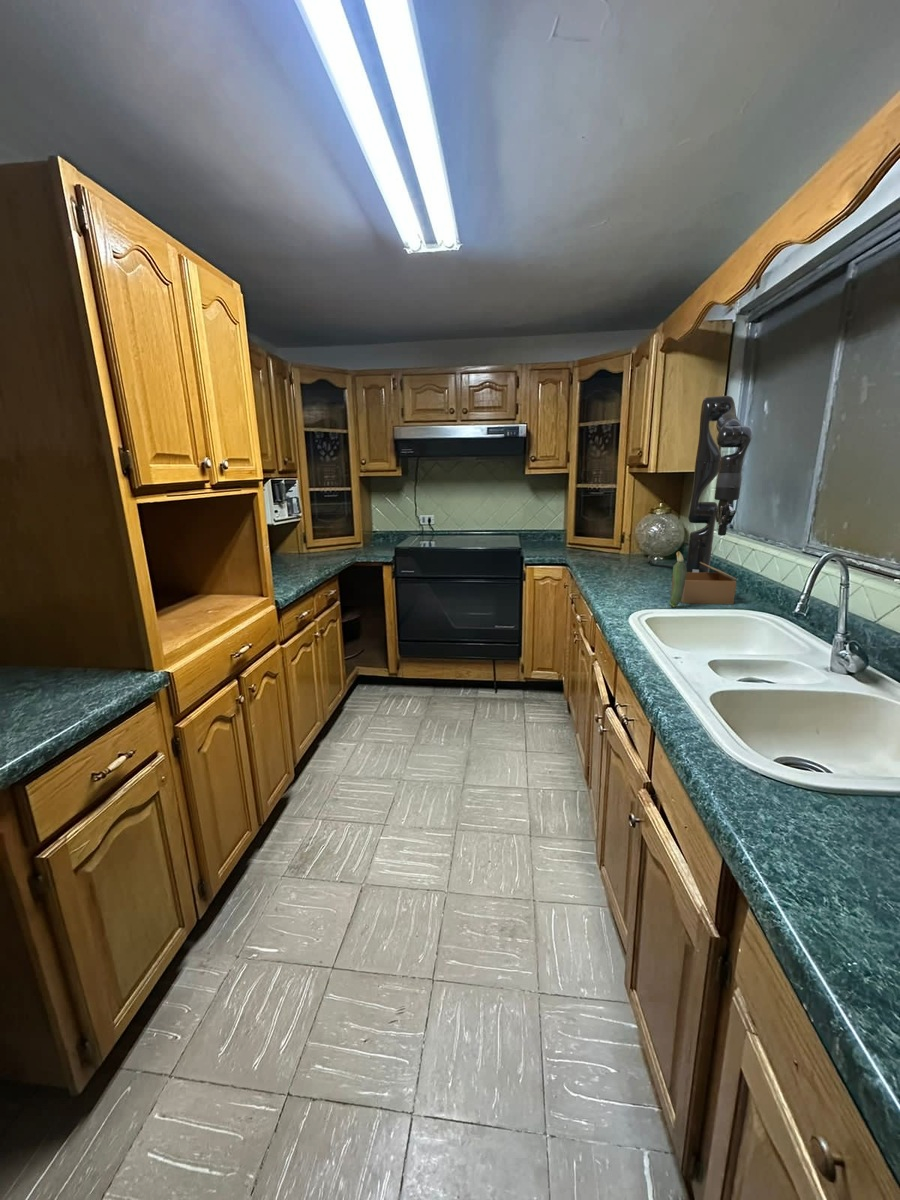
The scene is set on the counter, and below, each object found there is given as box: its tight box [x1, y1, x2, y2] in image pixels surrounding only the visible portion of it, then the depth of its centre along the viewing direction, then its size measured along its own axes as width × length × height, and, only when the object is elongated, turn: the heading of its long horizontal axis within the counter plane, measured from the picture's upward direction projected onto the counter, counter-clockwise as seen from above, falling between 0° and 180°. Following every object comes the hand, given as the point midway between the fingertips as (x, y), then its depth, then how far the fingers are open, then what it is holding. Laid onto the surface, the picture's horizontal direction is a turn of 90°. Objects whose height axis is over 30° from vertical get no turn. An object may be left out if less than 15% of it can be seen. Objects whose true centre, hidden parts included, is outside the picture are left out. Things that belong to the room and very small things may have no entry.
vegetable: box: [669, 550, 687, 608], centre depth 166 cm, size 4×4×20 cm
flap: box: [700, 562, 738, 581], centre depth 177 cm, size 15×8×1 cm, turn 172°
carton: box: [670, 572, 738, 605], centre depth 179 cm, size 15×17×8 cm
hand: (721, 535), depth 174 cm, fingers closed
